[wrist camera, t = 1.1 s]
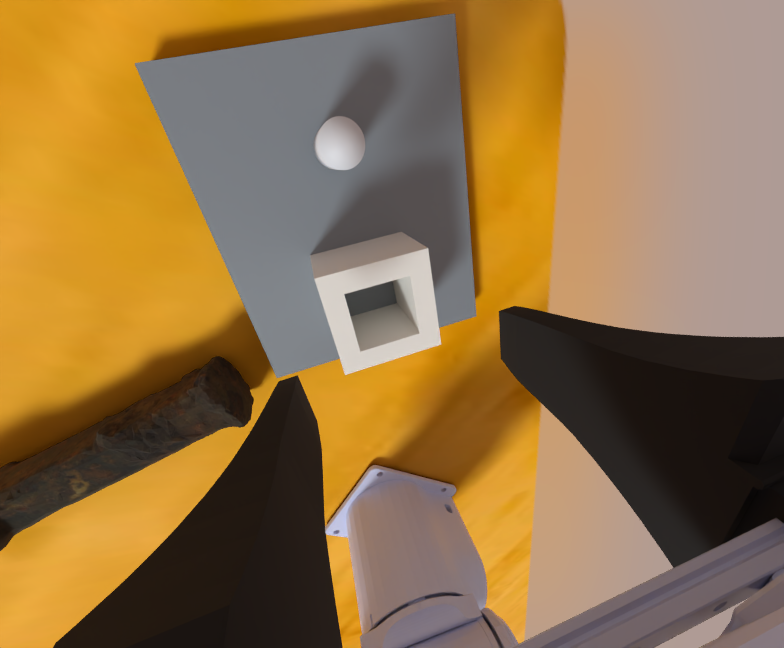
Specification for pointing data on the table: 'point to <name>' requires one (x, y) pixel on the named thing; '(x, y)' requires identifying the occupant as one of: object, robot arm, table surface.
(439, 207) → the plate
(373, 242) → the hollow square block
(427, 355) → the table surface
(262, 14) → the table surface
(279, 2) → the table surface
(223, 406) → the hand tool
